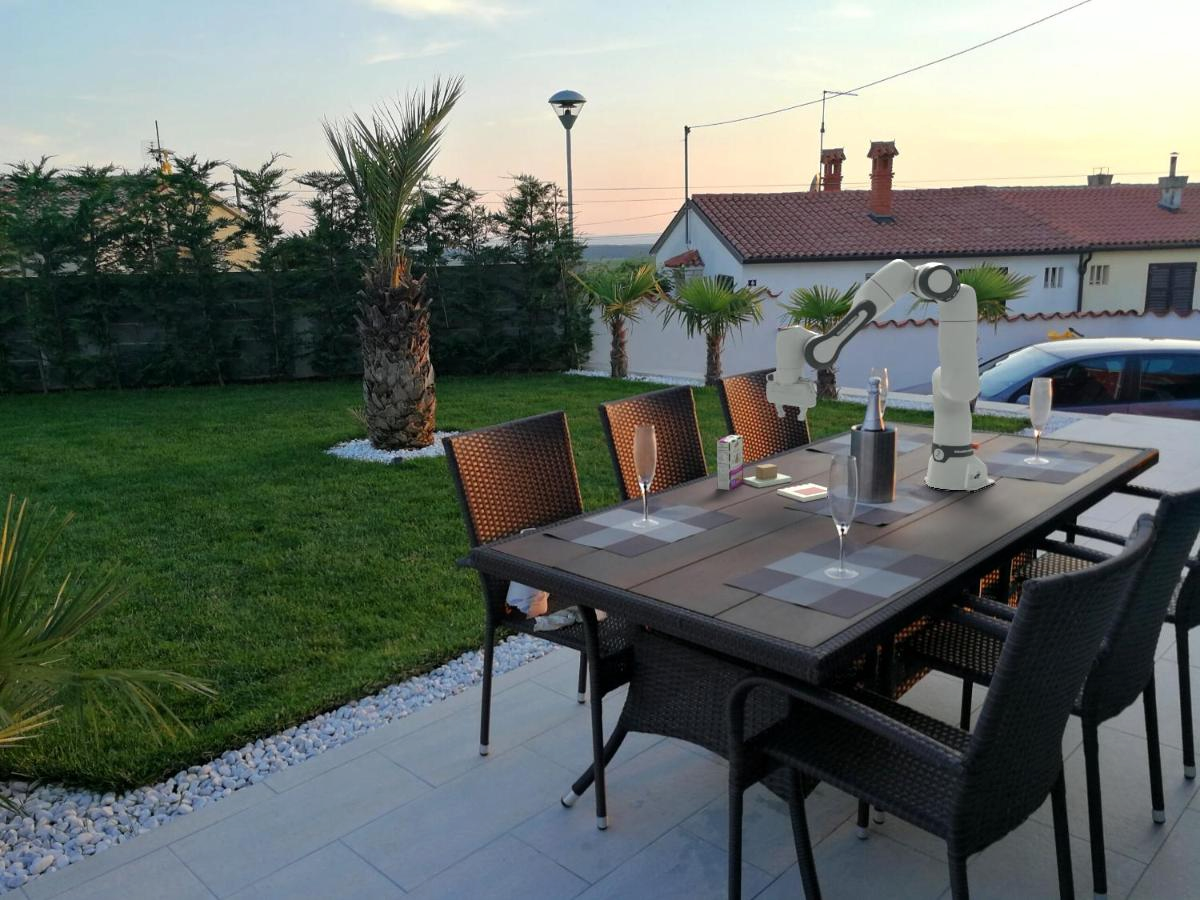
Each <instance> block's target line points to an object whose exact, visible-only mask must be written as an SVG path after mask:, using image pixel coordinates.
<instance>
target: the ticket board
mask: <svg viewBox="0 0 1200 900" xmlns="http://www.w3.org/2000/svg"><path fill="white" fill-rule="evenodd" d="M827 488H828V487H825V486H821V485H818V484H815V483H811V482H810V483H806V484H798V485H794V486H789V487H784V488H783V487H782V488H780V489H779V488H778V489H776V490H777V492H776V494H777V495H780V496H782V497H786V498H790V499H793V500H797V501H800V502H803V503H805V502H810V501H814V500H819V499H825V498H828V497H827Z"/></svg>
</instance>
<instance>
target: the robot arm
mask: <svg viewBox="0 0 1200 900" xmlns="http://www.w3.org/2000/svg"><path fill="white" fill-rule="evenodd" d="M908 293H911V294H912V295H914V296H915V297H918V298H920V299H921V298H922V299H925V300H934V301H935V302H936V303H937V305H938V310H939V311H938V328H937V331H938V332H937V333H938V334H937V348H938V354H939V361H940V362H939V363H940V365H939V366H937V368H935V370H934V371H933V373H932V375H931V384H932V404H933V405H932V406H933V417H934V418H933V419H934V422H933V436H932V437H933V441H932V442H931V444H930V448H931V450H930V453H931V456H930V457H929V460H928V464H927V465H928V467H927V471H926V472H927V474H926V476H924V479H923V480H925V485H926V484H927V485H928V486H927V485H926V486H927V487H929V486H930V487H929V488H931V487H934V488H933V489H935V488H940V489H949V490H977V489H979V488H981V487H984V486H986V485H989V484H991V483H994V482H995V483H996V481H995V479H993V478H990V477H988V467H987V465H986V463H984V462H983V461H982V460H981V459H980V458H978V457H977V456H976V455H975V451H974V450H977V451H978V450H979V449H980V443H975V442H973V443H972V442H971V441H972V428H973V427H972V425H973V417H972V412H971V405H970V402H971V401H973V400H975V399H976V397H977V396H978V395H979V393H980V392H981V388H982V386H981V379H980V370H979V361H978V351H977V339H978V338H977V335H978V332H977V331H978V314H979V313H978V302H977V301H978V300H977V295H976V290H975V289H974V287H972V286H970V285H969V284H964V283H961V282H960V280H959V279H958V277H957V275H956V273H955V272H954V270H953V269H952V268H951V267H950V266H949V265H948V264H945V263H943V262H927V263H924V264H920V265H917V266H916V265H915V266H912V265H911V264H910V263H909V262H907V261H905V260H903V259H894V260H892V261H890V262H889V263H887V264H885V265H884V266H883V267H881V268H880V269H879V270H877V271H876V272H875V273H874V274H873V275H872V276H870V277H869V278H868V279H867V280H866V281H865V282H864V283H863V284H862V285H861V287H860V288H859V289H858V290H857V292H855V295H854V296H853V302H852V304H851V307H850V308H849V311H848V312H847V313H846V315H844V317H842V319H841V320H840V321H838V323H836V324H835V326H833V327H832V328H831V329H830V330H829V331H828V332H826V333H825V334H821V333H816V332H814V331H812V330H809V329H806V328H805V327H803V326H802V325H801V324H800V325H799V324H794V325H793V324H792V325H789V326H785V327H782V328H781V329H779V330H778V331H777V333H776V340H775V341H776V342H775V357H776V362H777V363H776V366H775V368H776V371H773V372H770V373H767V374H766V376H765V379H766V381H767V382H766V389H765V390H766V391H765V392H766V395H765V396H766V400H767V402H768V403H770V404H772V403H773V404H775V409H776V411H777V416H778V418H785V417H786V411H784V408H783V406H784V405H785V406H790V407H791V406H792V407H799V408H798V409H799V411H800V412H799V414H797V421H801V422H802V421H805V420H806V414H807V412H808V409H809V408H814V407H816V406H817V395H816V388H815V384H814V382H813V381H812V380H811V378H809V377H807V378H806V377H805V375H806V374H805V365H806V364H807V365H808V366H810V368H812V369H815V370H818V371H820V370H827V369H829V368H831V367H832V366H833V365H834V364H836V362H837V361H838V358H839V356H840V354H841V353H842V350H843V348H844V347H845V346H846V345H847V344H848V343H849V342H850V341H851V340H852V338H854V337H855V336H856V335H857V334H858V333H859V332H860V331H861V330H862V329H863V328H864V327H866V326H867V325H868V324H869V323H871V322H872V321H874V320H875V319H877V318H878V317H879V316H881V315H882V314H884V313H885V312H886V311H888V310H889V309H890V308H892V306H893V305H895V304H896V303H897V302H898V301H899V300H900V299H901V298H902V297H904V296H905V295H907V294H908ZM940 489H939V490H940ZM949 490H948V491H949ZM977 491H978V490H977Z"/></svg>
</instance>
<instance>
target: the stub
mask: <svg viewBox="0 0 1200 900" xmlns="http://www.w3.org/2000/svg"><path fill="white" fill-rule="evenodd" d="M754 475H755V476H751V477H745V478H744V477H743V483H742V484H746V485H750V486H752V487H755V488H764V487H770V486H774V485H781V484H785V483H791V482H792V477H791V476H789V475H785V474H781V473H778V465H776V464H773V463H772V464H771V463H765V464H759V465H755V474H754Z"/></svg>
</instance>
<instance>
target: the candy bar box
mask: <svg viewBox="0 0 1200 900" xmlns="http://www.w3.org/2000/svg"><path fill="white" fill-rule="evenodd" d="M743 439H744V437H743V435H736V434H730V435H727V436H725V437H723V438H721V439H719V440H717V441H716V469H717V470H716V471H717V473H716V474H717V475H716V476H717V479H716V480H717V483H716V484H717V490H725V491H732V490H734V489H735V488H737V487H739V486H740V485H742V484H744V483H743V478H744V458H743V457H744V455H743V454H744V440H743Z"/></svg>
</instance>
